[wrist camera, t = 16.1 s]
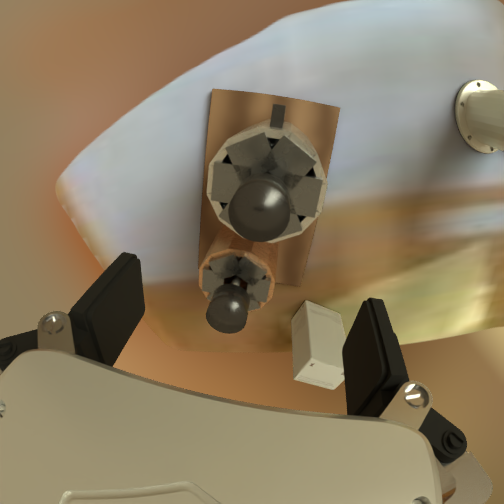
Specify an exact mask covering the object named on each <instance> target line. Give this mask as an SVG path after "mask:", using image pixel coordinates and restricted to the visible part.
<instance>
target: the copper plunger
mask: <svg viewBox="0 0 504 504" xmlns="http://www.w3.org/2000/svg"><path fill="white" fill-rule="evenodd" d="M237 258H238V260H240V259H241V258H242V257H240V256H237ZM240 282H241V278H240V277H239V276H237V275H234V278H233V281H232V284H224V285H221V286H219V287H218V288H216V290H215V291H214V293H213V296H212V299H211V301H210V304H209V307H208V309H207V312H206V319H207V321H208V323H209V324H210V326H211V327H213V328H214V329H215V330H217V331H219V332H223V333H236V332H239V331H241V330H242V329H243V328H244V326H245V324H246V320H247V315H248V310H249V305H250V297H249V295H248V293H247V292H246V291H245V290H244V289H243V288H242V287H240Z"/></svg>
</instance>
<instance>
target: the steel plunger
mask: <svg viewBox="0 0 504 504" xmlns="http://www.w3.org/2000/svg"><path fill="white" fill-rule="evenodd" d="M267 138H268V141H269V143H270V146H271V148H273V147H274V146H275V145H276V143H277V142H278V141H279V140H280V139H276V138H270V137H267ZM228 215H229V220H230V223H231V225H232V227H233V228H234V230H235V231H236V232H237V233H238V234H239V235H240V236H242V237H243V238H245V239H247V240H250V241H254V242H267V241H271V240H273V239H275V238H277V237H278V236H280V235H281V234H282V233H283V232H284V231H285V229H286V228H287V226H288V223H289V220H290V194H289V190H288V188H287V186H286V185H285V183H284V182H283V181H282V180H281V179H280V178H278V177H276V176H275V175H272V174H271V173H270V172H265V173H256V174H253V175H250V176H249V177H247V178H246V179H244V180H243V181H242V183H241V184H240V186H239V187H238V189H237V191H236V192H235V194H234V196H233V198H232V199H231V202H230V204H229V209H228Z"/></svg>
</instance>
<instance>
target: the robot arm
mask: <svg viewBox="0 0 504 504" xmlns="http://www.w3.org/2000/svg"><path fill="white" fill-rule="evenodd" d="M460 104H461V105H460ZM455 114H456V121H457V125H458V128H459V131H460V133H461V135H462V137H463V138H464V140H465V141H466V142H467V144H468V145H470V146H471V147H472V148H473V149H475V150H477V151H479V152H482V153H493V152H496V151H497V150H502V151H504V90H498V89H497V88H496V87H495V86H494V85H492V84H491V83H489V82H487V81H484V80H472V81H469V82H467V83H466V84H465V85H464V86H463V87H462V88H461V90H460V91H459V93H458V96H457V99H456V105H455ZM144 312H145V303H144V294H143V285H142V275H141V264H140V259H138V258H137V256H136V255H135V254H130V253H126V252H123V253H121V254H120V256H119V257H118V258H117V259H116V260H115V261H114V262H113V263H112V264H111V265H110V266H109V267H108V268H107V269H106V270H105V271H104V272H103V274H102V275H101V276H100V277H99V278H98V279H97V280H96V281H95V282H94V283H93V284H92V286H91V287H90V288H89V289H88V290H87V291H86V292H85V293H84V295H83V296H82V297H81V298H80V299H79V300H78V301H77V303H76V304H75V305H74V306H73V307H72V308H71V311H70V312H69V314H66V313H64V312H61V311H53V312H50V313H47V314H46V315H44V316H43V317H42V318H41V319H40V321H39V323H38V329H36V330H32V331H29V332H25V333H21V334H18V335H14V336H10V337H6V338H4V339H1V340H0V504H484V503H485V502H486V501H487V500H488V498H489V497H490V495H491V493H492V489H493V486H492V482H491V480H490V478H489V477H488V475H487V474H486V472H485V471H484V469H483V468H482V467H481V465H480V464H479V462H478V461H477V460H476V458H475V457H474V455H473V454H472V453H471V452H469V453H467V451H466V448H467V441H466V437H465V435H464V434H463V432H462V431H460V429H458V428H457V427H456V426H454V425H453V424H452V423H451V422H449V421H448V420H446V419H445V418H444V417H443V416H442V415H440V414H439V413H438V412H436V411H435V410H434V409H433V408H431V405H432V402H433V400H432V395H431V393H430V391H429V389H428V388H427V387H426V386H425V385H423V384H421V383H419V382H416V381H409V378H408V374H407V370H406V366H405V363H404V359H403V356H402V353H401V349H400V346H399V342H398V339H397V336H396V334H395V333H394V332H393V329H392V326H391V323H390V320H389V317H388V314H387V311H386V308H385V305H384V302H383V300H382V299H375V298H369V299H368V300H367V301H363V303H362V305H361V308H360V310H359V312H358V314H357V317H356V319H355V321H354V323H353V326H352V328H351V330H350V332H349V334H348V336H347V339H346V341H345V343H344V345H343V348H342V358H343V368H344V378H345V389H346V402H347V415H340V414H329V413H319V412H309V411H300V410H292V409H284V408H277V407H270V406H264V405H258V404H252V403H247V402H241V401H236V400H231V399H226V398H221V397H216V396H212V395H208V394H203V393H199V392H195V391H191V390H187V389H183V388H179V387H176V386H172V385H168V384H164V383H161V382H158V381H154V380H151V379H148V378H144V377H141V376H138V375H135V374H132V373H129V372H126V371H123V370H120V369H117V368H114V367H113V365H114V363H115V362H116V360H117V358H118V356H119V355H120V353H121V351H122V349H123V348H124V346H125V345H126V343H127V341H128V339H129V338H130V336H131V335H132V333H133V331H134V330H135V328H136V326H137V325H138V323H139V321H140V320H141V318H142V317H143V315H144Z"/></svg>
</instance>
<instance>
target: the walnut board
mask: <svg viewBox="0 0 504 504" xmlns="http://www.w3.org/2000/svg"><path fill="white" fill-rule="evenodd" d="M273 104H280V105H286V111H285V118H284V121H285V122H290V123H292V124H293V125H294V126H295V127H297V128H298V129H299V130H301V131H302V132H303V133H304V134H305V135H306V136H307V137H308V138H309V140H310V142H311V143H312V145H313V147H314V149H315V150H316V152H317V154H318V157H319V159H320V162H321V165H322V168H323V171H324V174H325V177H326V178H327V173H328V169H329V164H330V159H331V154H332V149H333V144H334V139H335V134H336V128H337V123H338V117H339V112H340V108H339V107H334V106H330V105H325V104H320V103H315V102H310V101H305V100H300V99H294V98H288V97H282V96H275V95H268V94H261V93H253V92H244V91H234V90H222V89H212V97H211V106H210V115H209V124H208V134H207V144H206V155H205V166H204V179H203V192H202V206H201V222H200V241H199V263H198V269H199V268H200V266H201V264H202V262H203V260H204V258H205V256H206V254H207V252H208V250H209V248H210V247H211V245H212V243H213V241H214V239H215V237H216V235H217V233H218V231H219V230H220V229H221V227H222V226H223V223H222V222H221V221H220V220H219V219H218V217H217V215H216V213H215V211H214V209H213V206H212V204H211V202H210V200H209V198H208V196H207V182H208V170H209V164H210V162H211V161H212V159H213V158H214V157H215V155H216V154H217V153H218V151H219V150H220V149H221V147H222V146H223V145H224V143H225V142H226V141H227V139H229V138H230V137H232V136H234V135H235V134H237V133H239V132H241V131H242V130H244V129H246V128H248V127H249V126H252V125H254V124H257V123H259V122H262V121H265V120H268V119H271V114H272V107H273ZM317 218H318V217H317ZM317 218H316V219H315V220H314V221H313V222H312V223H311V224H310V225H309V226H308V227H307V228H306V229H305V230H304V231H303V232H302V233H301V234H300V235H297V236H294V237H290V238H287V239H284V240H281V241H279V246H278V258H277V269H276V280H275V283H281V284H287V285H293V286H299V287H300V286H301V282H302V278H303V275H304V271H305V267H306V263H307V259H308V255H309V251H310V247H311V243H312V239H313V235H314V231H315V227H316V223H317Z"/></svg>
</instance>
